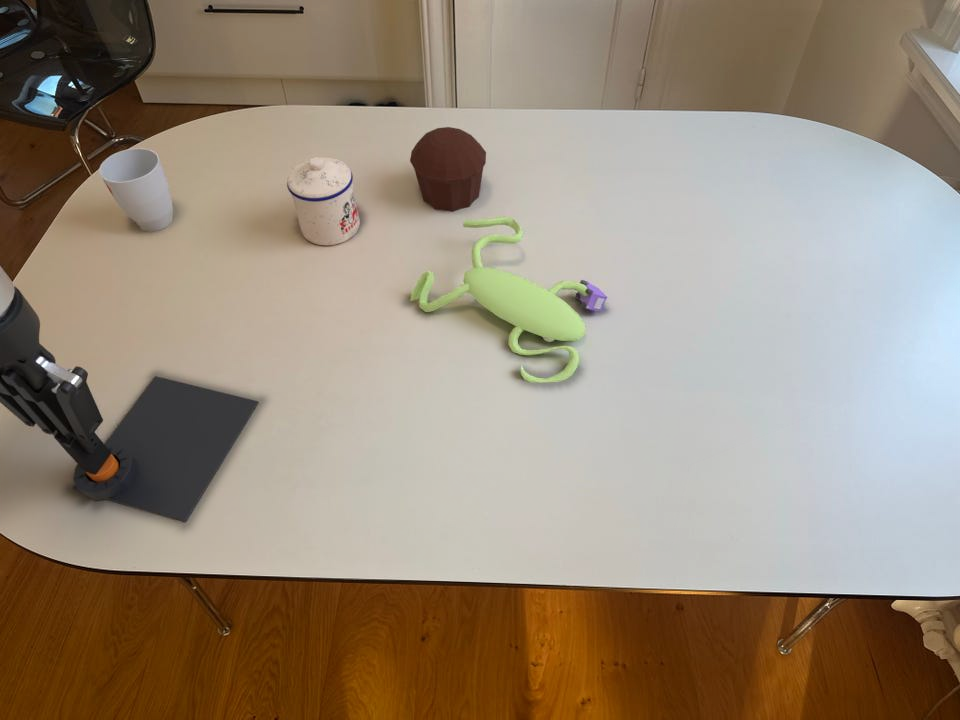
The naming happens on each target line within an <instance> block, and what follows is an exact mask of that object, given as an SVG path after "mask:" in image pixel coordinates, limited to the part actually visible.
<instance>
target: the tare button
mask: <svg viewBox="0 0 960 720" xmlns="http://www.w3.org/2000/svg"><path fill="white" fill-rule="evenodd" d="M118 470H119V463H118V461H117V460H116V459H115V458H114V456H113V455H112V454H111V455H110V456H109V457H108V459H107V460H106V462H105V463H104V464H103V466H102V467H101V468H100V470H99V471H98V473H97V474H92V473H89V472H86V473H87V474H88V476H89V477H90V478H91V479H92V480H93V481H95V482H97V483H99V482H104V481H107V480H108V479H110V478H111V477H113V476H114V475H115V474H116V472H117V471H118Z"/></svg>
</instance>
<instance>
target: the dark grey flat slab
mask: <svg viewBox="0 0 960 720" xmlns="http://www.w3.org/2000/svg"><path fill="white" fill-rule="evenodd" d="M259 403H260V402H259V400H255V399H251V398H246V397H243V396H238V395H234V394H230V393H226V392H221V391H217V390H213V389H210V388H205V387H201V386H198V385H193V384H189V383H185V382H181V381H177V380H173V379H169V378H164V377H160V376H157V375H154V377H153V378H152V380H151V381H150V382H149V384H148V385H147V386H146V388H145V389H144V391H143V392H142V393H141V395H140V396H139V397H138V398H137V400H136V401H135V403H134V404H133V405H132V406H131V407H130V409H129V411H128V412H127V413H126V414H125V416H124V417H123V419H121V421H120V423H119V424H118V425H117V427H116V428H115V429H114V431H113V432H112V433H111V435H110V436H109V438H108V439H106V441H105V442H104V445H105V446H106V447H107V448H108V450H109V451H110V452H111V454H112V455H113V456H114V458H115V459H116V460H117V461H118V463H119V470H118V471H117V472H116V474H115V475H114V476H113V477H111V478H110V479H108V480H107V481H104V482H99V483H97V482H95V481H93V480H92V479H91V478H90V477H89V476H88V474H87V473H86V472H85V471H83V470H82V468H81V467H80V466H79V465H78V464H77V463H76V466H75V468H74V473H73V483H74V484H73V486H72V487H71V489H72V490H73V491H76V492H79V493H82V494H83V496H84V497H86V498H90V499H92V500H96V501H101V500H102V501H103V500H107V501H110V502H114V503H117V504H121V505H124V506H128V507H132V508H135V509H138V510H141V511H144V512H149V513H151V514H155V515H159V516H162V517H165V518H169V519H173V520H177V521H180V522H183V523H187V522H188V520H189V519H190V517H191V515H192V514H193V512H194V510H195V508H196V507H197V505H198V504H199V502H200V501H201V499H202V497H203V495H204V494H205V492H206V491H207V489H208V487H209V486H210V484H211V482H212V481H213V479H214V477H215V476H216V475H217V473H218V472H219V471H218V470H219V469H220V468H221V466H222V465H223V463H224V461H225V459H226V458H227V456H228V454H229V453H230V452H231V449H232V448H233V446H234V445H235V443H236V442H237V440H238V438H239V436H240V435H241V434H242V431H243V430H244V429H245V426H246V425H247V423H248V421H249V420H250V418H251V417H252V415H253V413H254V412H255V410H256V408H257V407H258V405H259Z"/></svg>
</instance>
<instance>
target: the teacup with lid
mask: <svg viewBox="0 0 960 720" xmlns="http://www.w3.org/2000/svg"><path fill="white" fill-rule="evenodd" d="M353 180H354V175H353V172H352V170H351V168H350V167H349V166H348V165H347V164H345V162H343V161H341V160H339V159H336V158H331V157H319V156H315V157H311V158H310V159H307V160H305V161H302V162H301V163H299V164H297V165H296V166H294V168H292V170H291V171H290V172H289V174H288V176H287V180H286V187H287V190H288V192H289V193H290V194H291V199H292V202H293V205H294V209H295V213H296V216H297V220H298V224H299V228H300V231H301V234H302V235H303V237H304V238H305V239H306V241H308V242H310V243H313V244H315V245H319V246H334V245H339V244H342V243H345V242H346V241H348V240H350V239H351V238H352V237H354V235H355V234H356V233H357V232H358V230H359V227H360V225H361V224H360V222H361V221H360V216H359V210H358V205H357V201H356V196H355V195H356V194H355V190H354V186H353V185H354V184H353Z"/></svg>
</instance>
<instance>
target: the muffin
mask: <svg viewBox="0 0 960 720" xmlns="http://www.w3.org/2000/svg"><path fill="white" fill-rule="evenodd" d="M409 158H410V159H409V162H410V164H411V165H412V167H413V169H414V173H415V176H416V180H417V183H418V187H419V189H420V193H421V197H422V200H423V202H425V203H426V204H428V205H429V206H431V208H433V209H434V210H437V211H438V210H439V211H446V212H447V211H448V212H452V213H453V212H456V211H459V210H461V209H467V208H470V207H471V205H473V203H474V202H475V201H476V200H477V199H479V197H480V192H481V186H482V185H481V184H482V179H483V172H484V167H485V165H486V164H487V163H486V162H487V151H486V150H485V149H484V147H483V146H482V145H481V143H480V142H478V140H477V139H476V138H475V137H474V135H472V134H470V133H468V132H466V131H464V130H463V129H460V128H458V127H451V126H445V127H437V128H434V129H432V130H430V131H428V132H426V133H425V134H423V136H422V137H421V138H420V139H419V140H418V141H417V142H416V144H415V145H414V147H413V148H412V150H411V151H410V157H409Z"/></svg>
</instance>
